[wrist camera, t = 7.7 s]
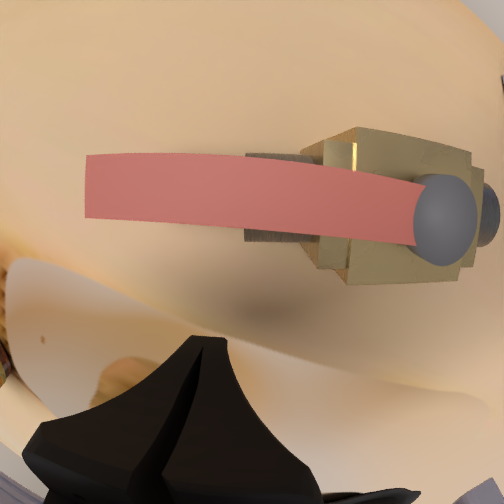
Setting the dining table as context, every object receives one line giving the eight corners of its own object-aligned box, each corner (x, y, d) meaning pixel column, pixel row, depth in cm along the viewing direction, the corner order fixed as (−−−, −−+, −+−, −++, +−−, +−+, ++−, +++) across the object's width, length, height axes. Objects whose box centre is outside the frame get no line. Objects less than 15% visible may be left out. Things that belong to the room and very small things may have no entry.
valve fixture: (462, 164, 14) (522, 168, 8) (453, 252, 15) (508, 281, 10) (246, 137, 14) (244, 114, 8) (245, 250, 15) (242, 291, 10)
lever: (452, 260, 9) (467, 268, 8) (100, 229, 9) (84, 236, 8) (464, 183, 9) (482, 185, 7) (103, 139, 8) (87, 136, 7)
